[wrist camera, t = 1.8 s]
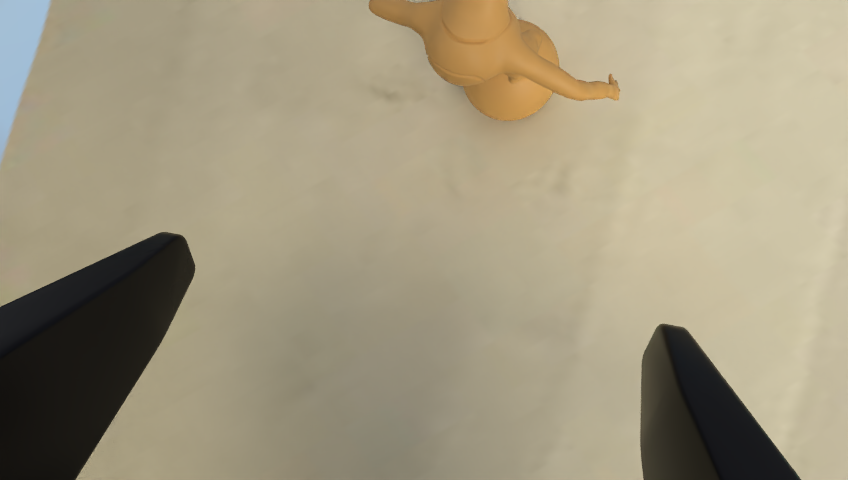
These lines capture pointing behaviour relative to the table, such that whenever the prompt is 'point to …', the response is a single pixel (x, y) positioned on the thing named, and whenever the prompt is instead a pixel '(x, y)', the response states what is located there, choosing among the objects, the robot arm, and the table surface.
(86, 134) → the table surface
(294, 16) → the table surface
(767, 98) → the table surface
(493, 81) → the figurine
